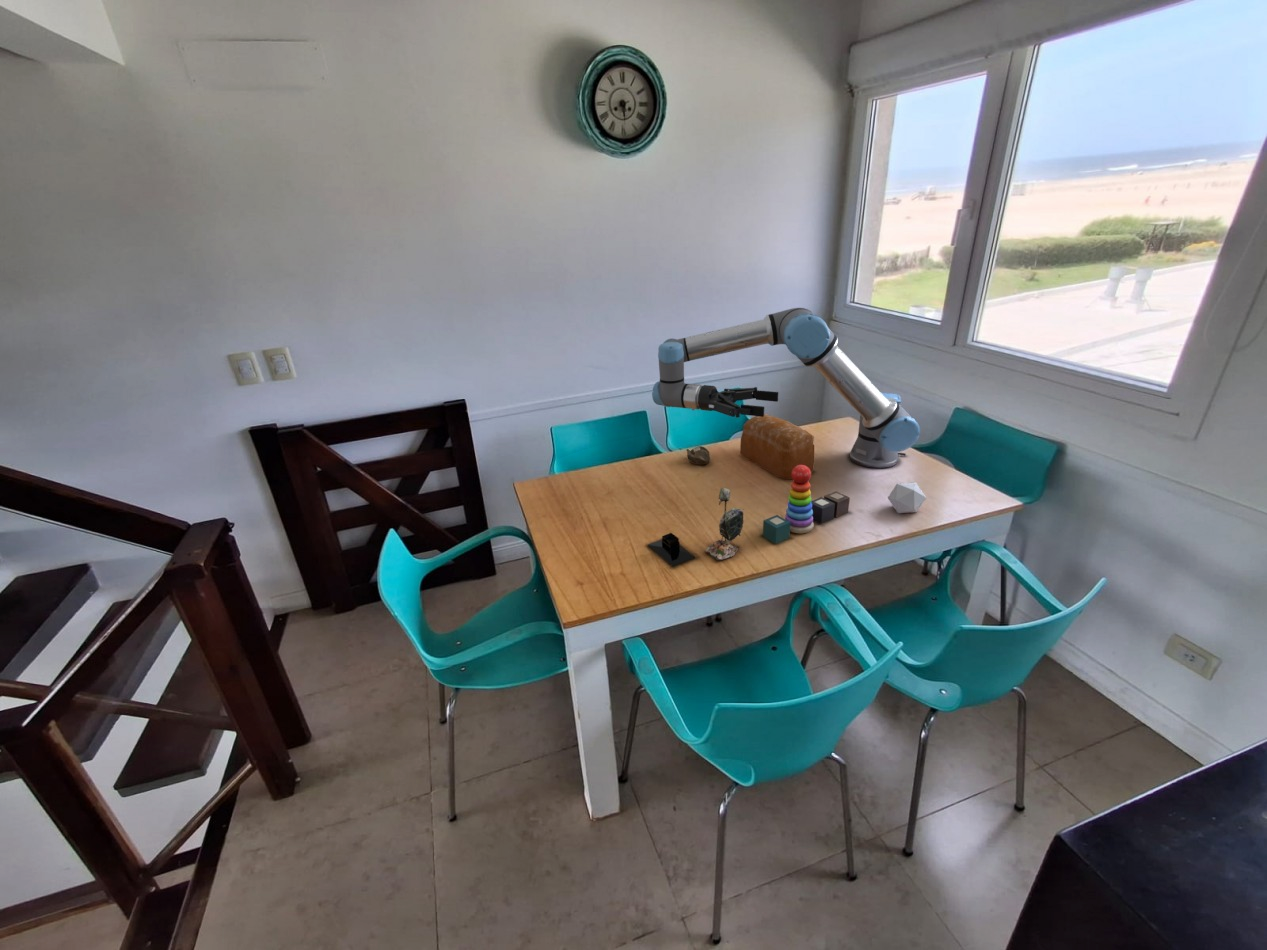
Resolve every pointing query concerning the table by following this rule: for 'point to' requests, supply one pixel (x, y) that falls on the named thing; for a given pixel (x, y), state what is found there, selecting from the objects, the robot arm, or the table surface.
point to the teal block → (776, 529)
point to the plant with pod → (727, 529)
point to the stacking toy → (800, 501)
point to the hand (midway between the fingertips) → (771, 404)
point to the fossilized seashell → (698, 455)
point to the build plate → (671, 550)
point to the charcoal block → (822, 510)
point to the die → (906, 497)
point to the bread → (776, 445)
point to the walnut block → (839, 503)
